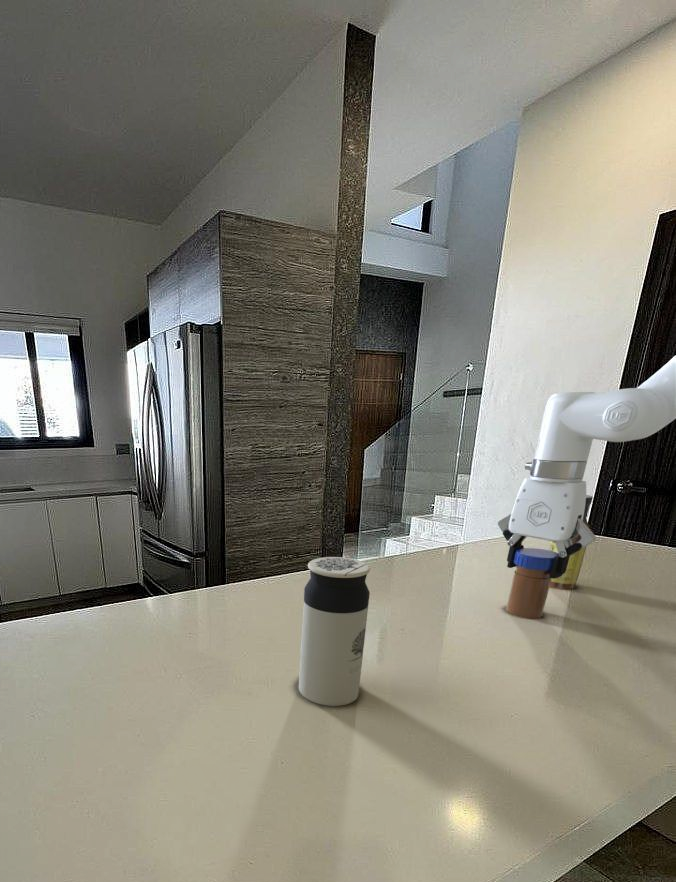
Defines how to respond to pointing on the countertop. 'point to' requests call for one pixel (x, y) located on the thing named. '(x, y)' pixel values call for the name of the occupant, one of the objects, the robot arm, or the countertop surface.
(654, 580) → the countertop surface
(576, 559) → the sauce bottle
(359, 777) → the countertop surface
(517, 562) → the lid
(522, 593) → the jar
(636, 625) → the countertop surface
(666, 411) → the robot arm
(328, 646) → the travel mug
